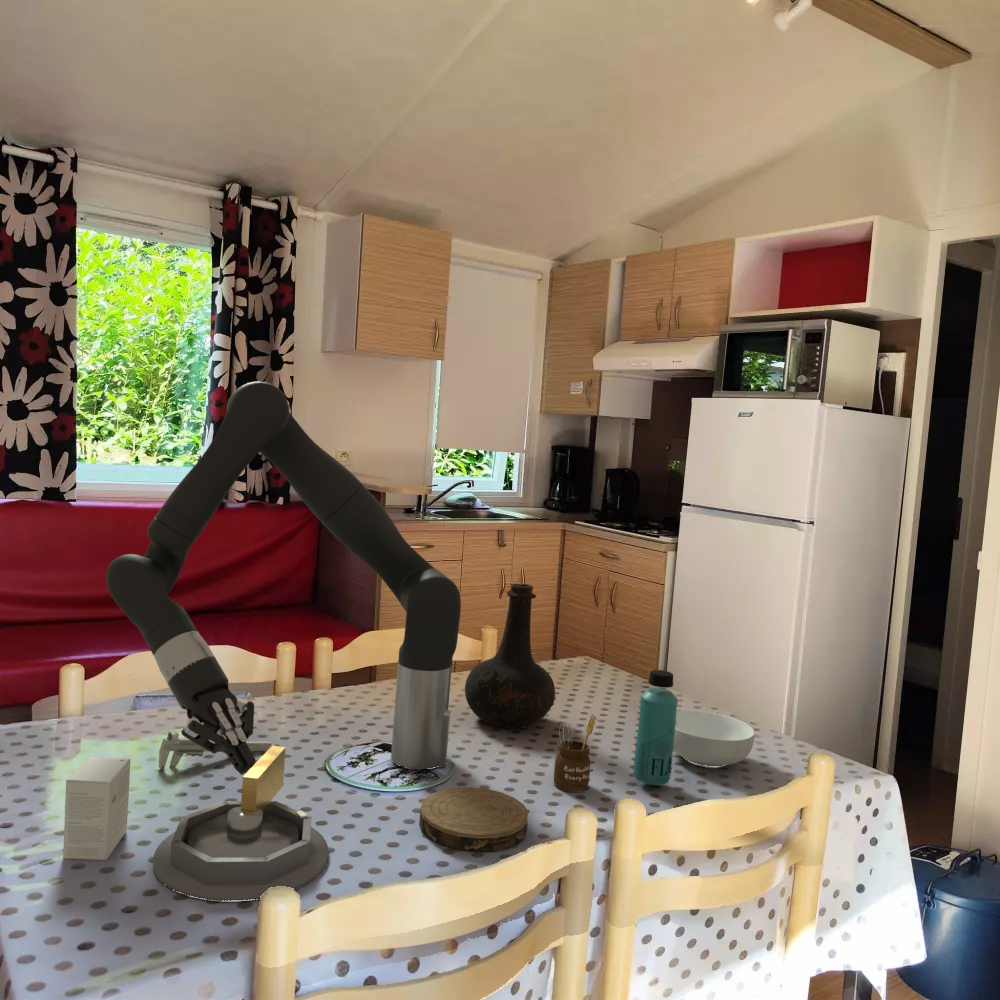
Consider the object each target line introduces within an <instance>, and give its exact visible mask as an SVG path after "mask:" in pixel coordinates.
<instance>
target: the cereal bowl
mask: <svg viewBox="0 0 1000 1000" xmlns="http://www.w3.org/2000/svg"><path fill="white" fill-rule="evenodd" d="M675 731H676V732H675V733H674V737H675V738H674V744H673V752H674V753H675V754H676V755H678V756H680V757H682V758H683V757H684V758H685V759H687V760H689V761H691V762H694V763H697V764H701V765H707V766H723V765H725V766H726V765H732V764H736V763H739V762H741V761H743V760H744V759H746V758H747V757H748V756H749V754H750V753H751V751H752V749H753V747H754V743H755V736H756V733H755V730H754V729H753V727H752V726H751V725H749V724H748V723H745V722H744V721H741V720H739V719H737V718H734V717H731V716H728V715H724V714H719V713H715V712H710V711H703V710H677V711H676V723H675ZM684 758H683V759H684Z"/></svg>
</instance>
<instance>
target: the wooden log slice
mask: <svg viewBox="0 0 1000 1000" xmlns="http://www.w3.org/2000/svg"><path fill="white" fill-rule="evenodd" d="M419 811H420V812H419V822H418V826H419V829H420V832H421V834H423V836H425V838H426V839H428V841H430V842H432V843H434V844H436V845H438V846H440V847H442V848H444V849H445V848H446V849H448V850H453V851H456V852H460V853H469V854H495V853H500V852H504V851H507V850H508V851H509V850H510V849H511V850H512V849H513V848H515V847H516V846H519V845H520V844H522V842H523V841H524V840H525V839H526V838H527V827H528V819H529V818H528V817H529V811H528V809H527V808H526V806H525V805H524V803H522V802H521V801H520V800H518V799H517V798H515V797H513V796H511V795H508V794H507V793H504V792H501V791H498V790H493V789H490V788H484V787H483V788H482V787H474V786H469V787H468V786H465V787H459V786H457V787H451V788H450V787H449V788H444V789H441V790H438V791H435V792H432V793H430V794H429V795H428V796H426V798H424V799H422V801H421V805H420V809H419Z"/></svg>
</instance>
